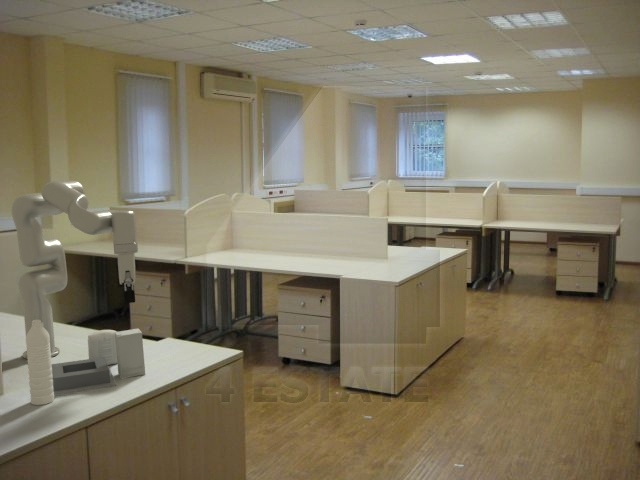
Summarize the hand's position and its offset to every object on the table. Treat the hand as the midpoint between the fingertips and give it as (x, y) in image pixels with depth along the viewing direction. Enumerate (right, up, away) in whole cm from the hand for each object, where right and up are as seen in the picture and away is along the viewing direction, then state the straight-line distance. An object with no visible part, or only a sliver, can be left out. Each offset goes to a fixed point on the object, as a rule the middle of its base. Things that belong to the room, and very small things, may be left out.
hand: (130, 299), depth 216 cm
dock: (-15, -26, -4) cm, 31 cm away
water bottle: (-20, -29, -21) cm, 41 cm away
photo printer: (-13, -24, +13) cm, 30 cm away
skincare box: (0, -25, +3) cm, 26 cm away
